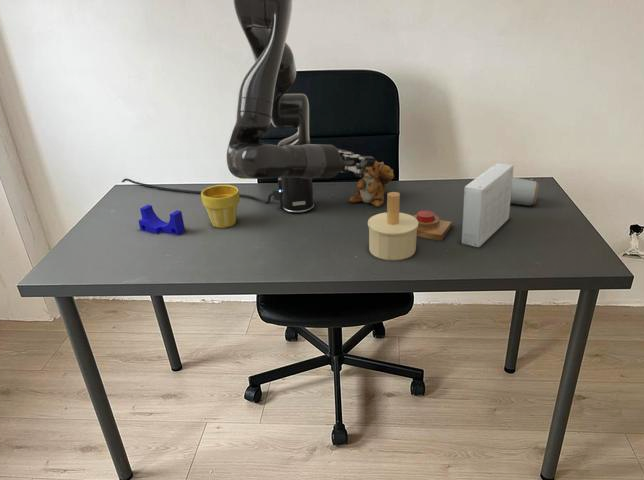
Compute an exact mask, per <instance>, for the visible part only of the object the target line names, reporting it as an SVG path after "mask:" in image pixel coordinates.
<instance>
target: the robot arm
mask: <svg viewBox="0 0 644 480" xmlns="http://www.w3.org/2000/svg"><path fill="white" fill-rule="evenodd" d="M233 6H234V12H235V15H236V18H237V21H238V23H239V25H240V28H241V30H242V32H243V34H244V36H245V39H246V40H247V43H248V45H249V48H250V51H251V53H252V57H253V61H254V63H253V64H252V66H251V67H250V69H248V71H247V73H246V74H245V75H244V77H243V79H242V81H241V84H240V86H239V91H238V98H237V108H236V119H235V124H234V126H233V129H232V132H231V135H230V138H229V142H228V145H227V148H226V149H227V150H226V165H227V168H228V171H229V172H230V174H232V176H233V177H235V178H238V179H243V180H245V179H246V180H260V179H274V178H277V185H278V186H277V187H276V188H274V189H273V190H272V192H271V193H269V195H268V196H267V200H265V201H264V200H261V199H260V198H258V197H256V196H254V195H250V194H240V193H239V197H242V198H248V199H253V200H255V201H257V202H260V203H263V204H269V203H270V202H271V197H272V196H273V200H275V201H279V208H280V209H281V210H283V211H284V212H287V213H289V214H304V213H307V212H310V211H313V209H314V208H315V203H314V202H315V201H314V187H313V179H333V178H335V177H336V176H337V175H338V174H339V173H350V172H353V173H354V176H355V177H357V178H361V177H362V176H363V173H364V172H365V169H366V167H373V166H374V164H375V161H377V160H376V158H375V157H374V156H372V155H360V154H357V153H356V154H355V152H354V151H350V150H345V149H343V148H337V147H336V146H335V145H333V144H323V143H322V144H321V143H319V144H318V143H317V144H316V143H313V144H312V143H311V137H310V135H311V134H310V101H309V98H308V96H307V95H306V94H305V93H287V92H288V91H289V90H290V88H291V87H292V86H293V84H294V82H295V81H296V77H297V67H296V61H295V57H294V56H295V55H294V53H293V51H292V49H291V47H290V45H289V44H288V43H287V37H288V33H289V28H290V24H291V19H292V10H293V0H233ZM271 125H272V126H273V127H274V128H276V129H281V130H284V129H285V130H289V129H291V130H293V129H294V130H295V129H297V132H295V133H294V134H293V135H291V136H289V137H286V138H283V139H281V140H280V141H279V142H278V143H277V144H271V143H261V140H262V137H263V136H264V135H265V134H266V133H268V132H269V131H270V129H271ZM360 176H361V177H360ZM125 182H130V183H132V184H135V185H140V186H143V187H147V188H152V189H159V190H163V191H164V190H165V191H171V192H179V193H190V194H201V192H202V191H203V190H189V189H179V188H170V187H163V186H157V185H154V184H153V185H152V184H147V183H144V182H139V181H135V180H132V179H130V178H123V179H122V180H121V183H125Z"/></svg>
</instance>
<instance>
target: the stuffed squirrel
mask: <svg viewBox="0 0 644 480" xmlns="http://www.w3.org/2000/svg"><path fill="white" fill-rule="evenodd" d="M394 176H395V174H394V169H392V168H391V167H390V166H389V165H386V164H384V161H381V162H379V161H378V160H375V164H374V166H373V167H366V169H365V172H364V173H363V174H362V175H361V176H360V177H359V178H360V179H359V180H358V181H357V183H356V192H355V195H352V196H351V197H350V198H349V199H348V201H349V203H351V204H354V203H360V202H363V203H366V204H371V205H373V206H374V207H375V208H380V207H381V206H382V205H383V204H384V203H385V202H384V201H385V193H386V188H387V184H390V182H391V181H392V180H393V179H395V177H394ZM361 177H362V178H361Z"/></svg>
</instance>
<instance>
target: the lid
mask: <svg viewBox="0 0 644 480" xmlns="http://www.w3.org/2000/svg"><path fill="white" fill-rule="evenodd" d="M386 195H387V198H386V211H385V212H381V213H377V214H375V215H372V216H371V217H369V219H368V221H367V226H368V227H367V228H368V229H369V228H370V229H371V230H372V231H374V232H376V233H379V234H383V235H404V234H408V233H411V232H413V231H415V230H416V229H417V228H418V220H417V219H416V218H415V217H413V216H411V215H412V214H408V213H405V212H400V200H401V199H400V198H401V193H400V192H397V191H390V192H388V193H386Z"/></svg>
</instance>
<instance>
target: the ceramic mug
mask: <svg viewBox="0 0 644 480" xmlns="http://www.w3.org/2000/svg"><path fill="white" fill-rule="evenodd" d="M539 187H540V184H539V182H538V181H535V180H530V179H524V178H518V177H514V176H513V179H512V189H511V199H510V205H511V204H512V205H521V206H522V205H523V206H535V204H536V202H537V197H538V192H539Z"/></svg>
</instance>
